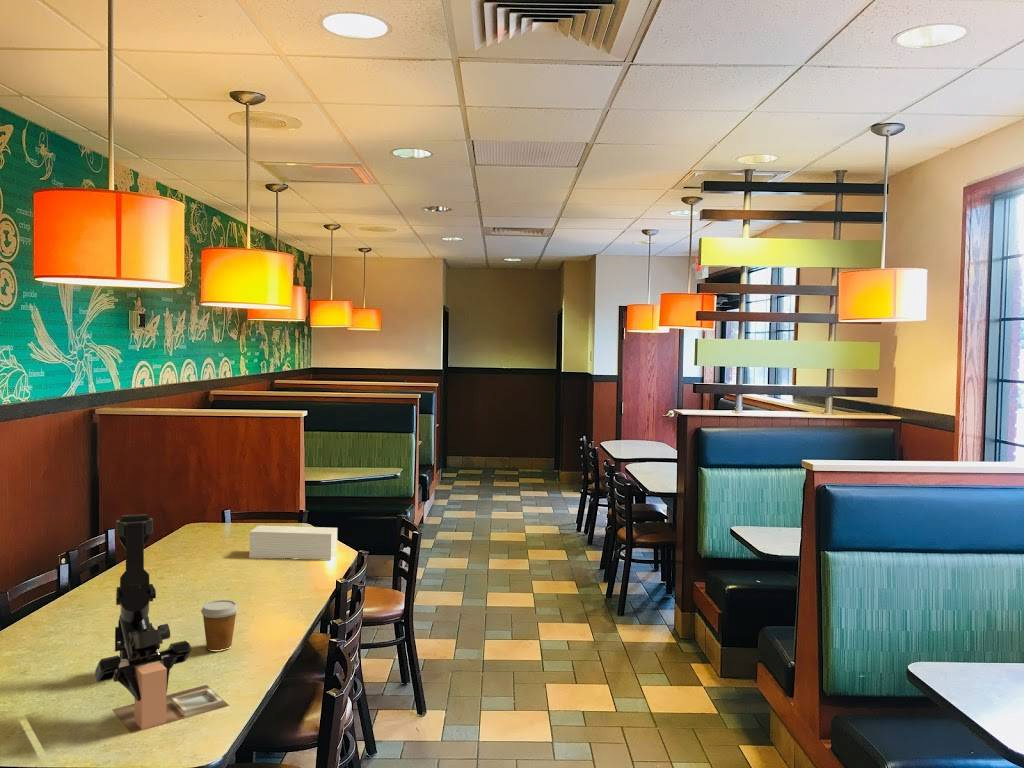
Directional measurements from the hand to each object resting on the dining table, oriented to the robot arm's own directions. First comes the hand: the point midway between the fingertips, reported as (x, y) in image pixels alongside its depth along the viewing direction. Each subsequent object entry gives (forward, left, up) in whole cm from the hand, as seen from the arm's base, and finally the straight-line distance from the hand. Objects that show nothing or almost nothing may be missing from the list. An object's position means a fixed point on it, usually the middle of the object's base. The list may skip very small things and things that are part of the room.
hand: (152, 696), depth 169 cm
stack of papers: (-75, +122, -8) cm, 144 cm away
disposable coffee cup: (-24, +39, -7) cm, 47 cm away
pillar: (-1, 0, -6) cm, 6 cm away
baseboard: (-3, +7, -7) cm, 11 cm away
